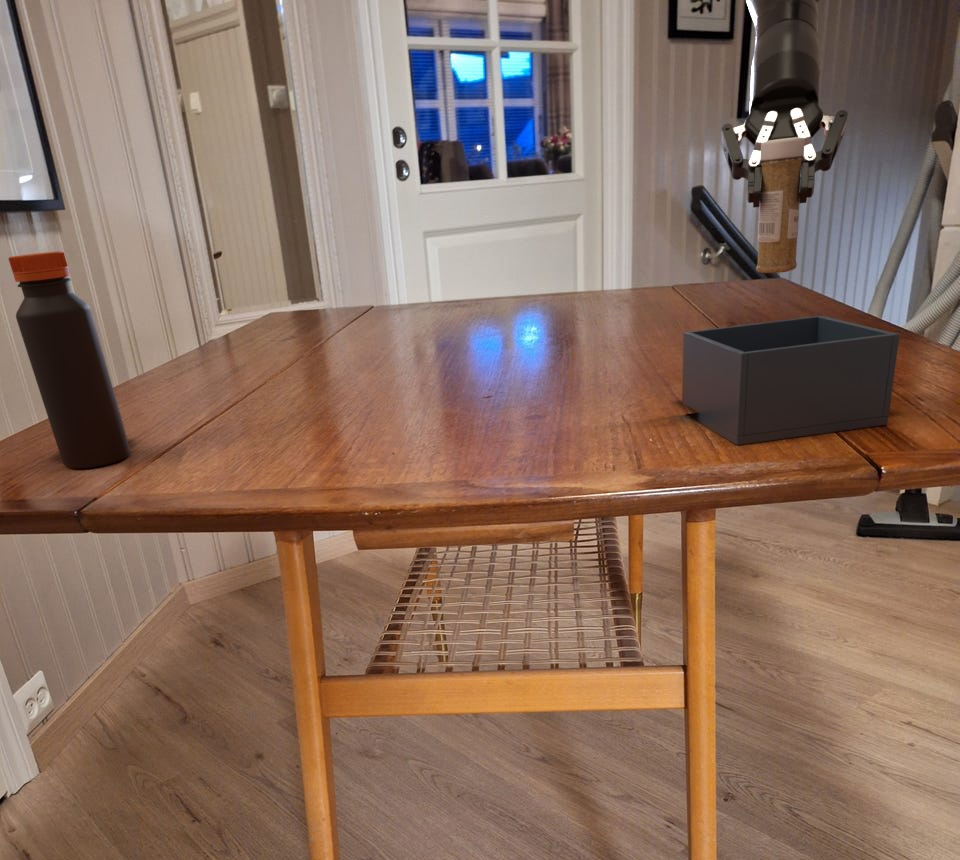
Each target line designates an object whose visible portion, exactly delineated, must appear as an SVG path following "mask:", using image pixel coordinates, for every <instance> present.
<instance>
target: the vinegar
mask: <svg viewBox="0 0 960 860" xmlns="http://www.w3.org/2000/svg"><path fill="white" fill-rule="evenodd" d="M65 255H66V254H65V252H64V251H63V250H59V251H58V250H57V251H48V252H47V251H46V252H37V253H28V254H20V255H13V256H9V257H8V258H7V259H8V263H9V265H10V269H11V271H12V275H13V278H14V281H15V282H16V283H18V284H17V287H18V288H21V291H22V295H23V300H22V301H21V303H20V305H19V307H18V309H17V311H16V313H15V319H16V322H17V326H18V329H19V331H20V335H21V338H22V341H23V344H24V347H25V350H26V353H27V356H28V359H29V362H30V365H31V369H32V371H33V374H34V378H35V381H36V384H37V388H38V390H39V394H40V397H41V400H42V403H43V406H44V410H45V412H46V416H47V418H48V419H47V420H48V422H49V425H50V428H51V431H52V435H53V438H54V441H55V443H56V447H57V451H58V453H59V456H60V459H61V462H62V464H63V465H64V467H66V468H68V469H74V470H83V469H94V468H100V467H104V465H105V466H108V465H112V464H115V463H118V462H121V461H122V460H125V459H127V458H128V457H129V456H130V454H131V446H130V444H129V440H128V436H127V433H126V429H125V426H124V422H123V419H122V415H121V411H120V409H119V404H118V401H117V398H116V394H115V390H114V387H113V383H112V379H111V376H110V372H109V370H108V366H107V362H106V358H105V355H104V352H103V349H102V344H101V341H100V337H99V333H98V331H97V327H96V324H95V320H94V316H93V313H92V309H91V307H90V305H89V303H87V302H86V301H85V300H83V299H82V298H81V297H80V296H78V295H76V293H74V292H73V291H72V288H71V285H70V282H71V281H72V279H71V278H69V277H70V276H71V272H70V269H69V266H68V262H67V258H66V256H65Z"/></svg>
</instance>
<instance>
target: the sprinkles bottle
mask: <svg viewBox="0 0 960 860" xmlns="http://www.w3.org/2000/svg"><path fill="white" fill-rule="evenodd" d="M804 145H805V139H804V138H803V137H793V138H784V139H776V140H769V141H766V142H763V143H762V144H761V155H760V160H761V161H762V163H761V166H762V171H761V185H760V206H759V207H758V208H759V209H758V225H757V226H758V228H757V229H758V230H757V242H758V247H757V264H756V267H755V270H756V272H758V273H761V274H779V273H787V272H790V271H793V270H795V269H796V268H797V265H798V263H797V247H798V237H799V219H800V204H801V203H800V179H801V162H802V160H803V159H802V158H801V157H802V156H804Z"/></svg>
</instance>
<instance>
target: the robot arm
mask: <svg viewBox="0 0 960 860" xmlns="http://www.w3.org/2000/svg"><path fill="white" fill-rule="evenodd" d="M822 1H823V0H745V3H746V6H747V7H748V8H747V9H748V11H749V14H750V17H751V20H752V23H753V27H754V29H755V38H754V39H755V40H754V53H753V56H752V57H753V58H752V62H751V71H750V82H749V85H750V89H749V91H750V92H749V110H748V112H749V113H748V116H747V117H746V119H745V120H744V123H743V124H741V125H738V126H733V125H732V124H731V123H725V124H723V125H722V127H721V149H722V150H723V151H722V152H723V155H724V158H725V160H726V163H727V166H728V169H729V172H730V175H731V177H732V179H733V180H734V181H739V180H741V179H745V180H747V187H746V188H747V189H746V200H747V202H748V204H752V208H759V206H760V190H761V171H762V166H761V163H762V161H761V160H760V155H761V144H762V143H763V142H766V141H769V140H776V139H784V138H793V137H803V138H804V139H805V145H804V156H802V157H801V158H802V159H803V160H802V162H801V179H800V204H807V200H808V198H812V196H813V195H814V190H815V184H816V183H815V182H816V179H815V178H816V177H815V176H816V172H818V171H822V172H828V171H829V170H830V169H831V168H832V166H833V163H834V160H835V158H836V156H837V153H838V151H839V148H840V147H841V143H842V141H843V139H844V136H845V133H846V129H847V128H846V127H847V121H848V111H846V110H844V109H841V110H838V111H837V112H836V113H835V115H829V114H824V111H823V109H822V108H821V106H820V104H819V103H820V74H821V70H820V67H821V66H820V65H821V64H820V63H821V55H820V46H819V7H818V5H819V4H820V3H821V2H822ZM821 129H822V130H823V134H824V137H826V138H825V141H824V143H823V146H822V148H821V150H818V151H816V150H815V147H814V146H813V143H812V139H813V137H814V136H815V135H816V134H817V133H818V132H819V131H820V130H821ZM744 138H746V140H747V141H749V143H750V144H751V145H753V150H752V153H751V155H750V158H749V159H746V158H744V155H743V152H742V149H741V145H742V142H743V141H742V140H744Z"/></svg>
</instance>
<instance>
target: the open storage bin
mask: <svg viewBox="0 0 960 860" xmlns="http://www.w3.org/2000/svg"><path fill="white" fill-rule="evenodd" d="M682 342H683V343H682V345H683V346H682V349H683V350H682V385H681V386H682V391H681V403H682V404H683V405H685V406H686V407H688V408H690V409H692V410H693V411H696V412H690V413H685V415H686V416H687V417H689V418H691V419H692V420H694V421H696V422H697V423H699V424H701V425H702V426H704V427H705V428H707V429H709V430H710V431H713V432H714V433H716V434H717V435H719V436H721V437H722V438H724V439H726V440H728V441H729V442H731V443H733V444H734V445H736V446H742V445H750V444H757V443H764V442H770V441H771V442H772V441H779V440H785V439H786V440H787V439H793V438H800V437H808V436H815V435H823V434H829V433H838V432H844V431H852V430H853V431H854V430H860V429H867V428H873V427H880V426H881V425H882V426H887V425H888V424H889V423H888V422H889V416H890V408H891V401H892V400H891V399H892V395H893V387H894V379H895V372H896V364H897V359H898V358H897V357H898V350H899V349H898V348H899V342H900V333H897V332H893V331H888V330H884V329H880V328H874V327H871V326H868V325H867V326H866V325H863V324H858V323H855V322H851V321H846V320H843V319H837V318H833V317H830V316H824V315H813V316H805V317H797V318H789V319H781V320H772V321H771V320H770V321H762V322H755V323H748V324H747V323H746V324H739V325H732V326H730V325H729V326H722V327H713V328H706V329H705V328H704V329H699V330H690V331H684V332H683V341H682ZM882 426H881V427H882Z"/></svg>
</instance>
